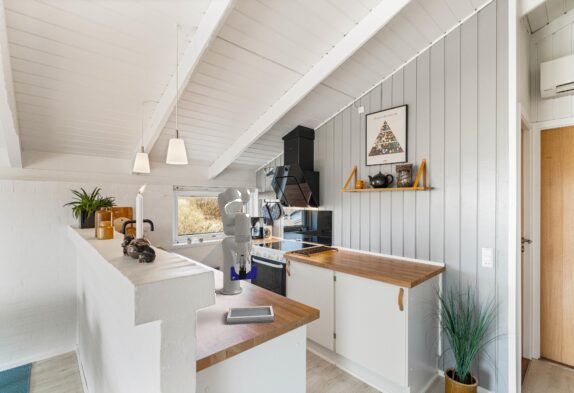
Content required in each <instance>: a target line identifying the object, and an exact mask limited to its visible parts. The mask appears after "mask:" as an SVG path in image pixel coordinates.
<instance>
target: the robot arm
mask: <svg viewBox="0 0 574 393" xmlns="http://www.w3.org/2000/svg"><path fill="white" fill-rule="evenodd" d="M250 200H251V192H250V190H249V188H247V187H241V186H240V187H237V186H236V187H235V186H234V187H232V186H231V187H228V188H226V189H225V191H223V192H220V193H219V194H218V195H217V206H218V209H219V211H220V213H221V214H220V219H221V223H222V226H223V227H222V229H223V233H224V235H225V236H226V237H224V238H223V239H222V241H221V248H222V254H223V255H222V257H223V258H222V259H223V260H222V264H223V267H222V268H223V271H222V272H223V274H222V277H223V278H222V288H220V289H219V290H220V293H221V294H223V295H227V296H228V295H229V296H230V295H231V296H233V295H237V294H241V293H242V292H243V288H242V287H241V280H236V281H231V280H230V267H232V266H234V268H235V272H236V273H237V274H239V279H246V273H247V263H248V257H249V253H250V252H251V251H252V250H253V238H252V229H251V227H252V226H251V225H252V224H251V223H252V218H251V217H252V216H251V215H250V213H247V212H240V211H241V210H242V209H243V207H244V206H245V205H247V204H248V203H249V201H250ZM234 278H235V277H233V278H232V279H234Z"/></svg>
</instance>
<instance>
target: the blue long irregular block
mask: <svg viewBox="0 0 574 393" xmlns="http://www.w3.org/2000/svg"><path fill="white" fill-rule="evenodd" d="M257 273H258V266H257V265H256V264H252V265H251V269H250V270H248V272H246V279H239V274H237V273H236V272H235V268H234V266H232V267H230V280H231V281H236V280H240V281H245V280H246V281H247V280H248V281H249V280H256V279H257V278H258V274H257ZM233 277H235V278H234V279H232V278H233Z"/></svg>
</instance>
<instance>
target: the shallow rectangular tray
mask: <svg viewBox="0 0 574 393" xmlns="http://www.w3.org/2000/svg"><path fill="white" fill-rule="evenodd" d="M227 312H228V313H227V318H226V325H239V324H240V325H241V324H242V325H243V324H262V323H275V315H274V309H273V305H261V306H260V305H259V306H240V307H239V306H238V307H234V306H233V307H229V308H228V311H227Z"/></svg>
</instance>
